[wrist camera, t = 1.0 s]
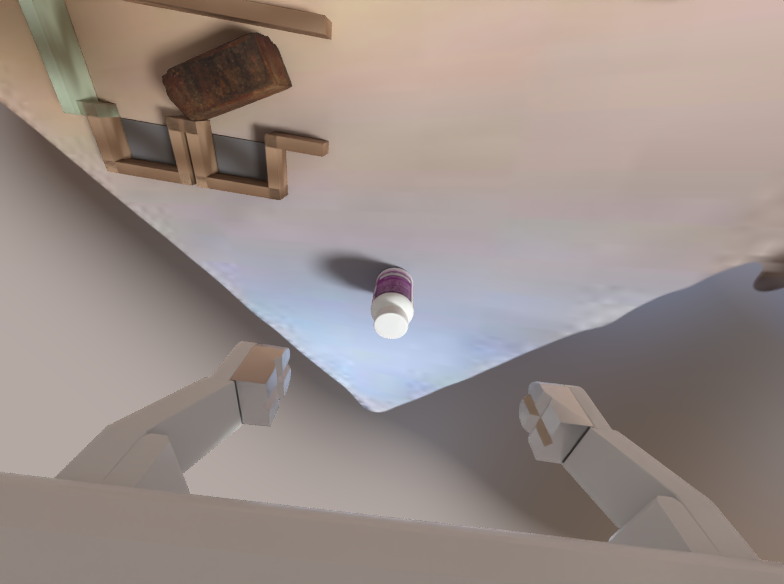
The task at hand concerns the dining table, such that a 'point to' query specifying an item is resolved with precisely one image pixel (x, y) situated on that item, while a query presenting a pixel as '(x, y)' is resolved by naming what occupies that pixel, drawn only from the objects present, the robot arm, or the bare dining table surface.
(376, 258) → the dining table surface
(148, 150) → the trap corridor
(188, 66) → the brick
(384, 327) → the pill bottle
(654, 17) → the dining table surface
